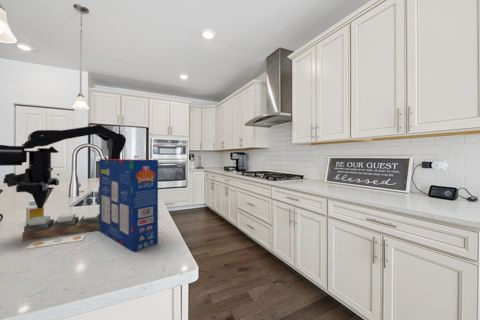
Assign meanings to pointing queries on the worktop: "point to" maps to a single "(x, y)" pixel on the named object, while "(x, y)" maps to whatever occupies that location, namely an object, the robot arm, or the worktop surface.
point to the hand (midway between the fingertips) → (40, 208)
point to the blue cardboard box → (129, 202)
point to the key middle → (66, 217)
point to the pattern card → (56, 242)
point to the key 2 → (90, 216)
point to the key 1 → (39, 220)
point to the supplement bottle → (33, 211)
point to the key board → (60, 228)
